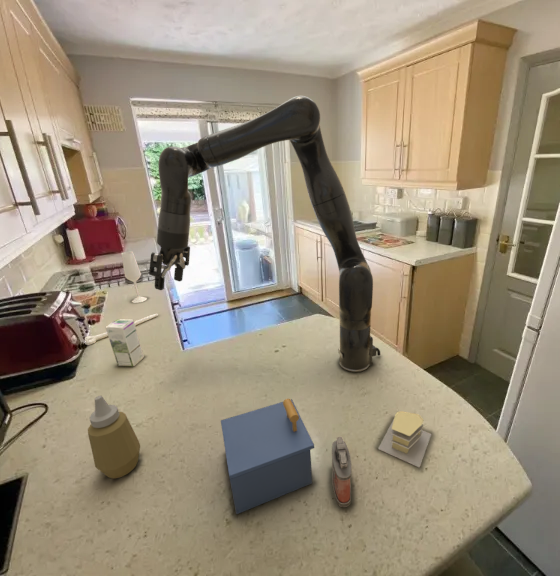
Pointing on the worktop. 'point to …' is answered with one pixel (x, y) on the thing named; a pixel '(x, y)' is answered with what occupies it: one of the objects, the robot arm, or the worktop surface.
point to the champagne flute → (132, 272)
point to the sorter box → (271, 481)
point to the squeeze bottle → (112, 440)
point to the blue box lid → (264, 437)
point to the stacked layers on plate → (406, 438)
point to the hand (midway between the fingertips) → (169, 284)
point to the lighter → (341, 472)
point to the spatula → (93, 339)
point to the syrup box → (125, 342)
